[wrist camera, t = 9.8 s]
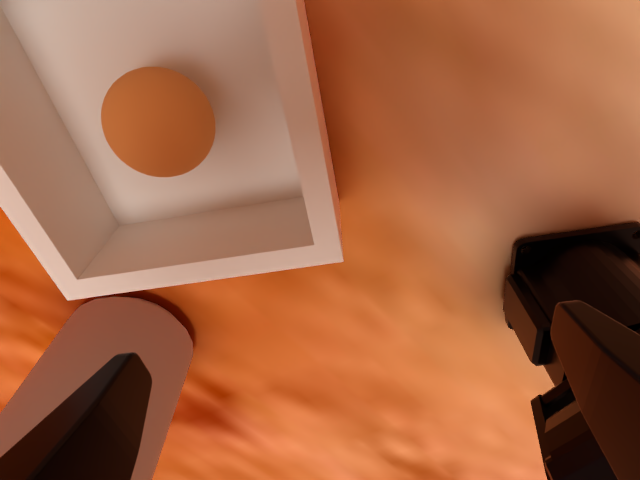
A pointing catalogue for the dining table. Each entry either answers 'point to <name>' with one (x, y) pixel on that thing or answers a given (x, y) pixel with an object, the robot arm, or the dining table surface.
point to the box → (165, 192)
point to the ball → (158, 121)
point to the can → (94, 352)
